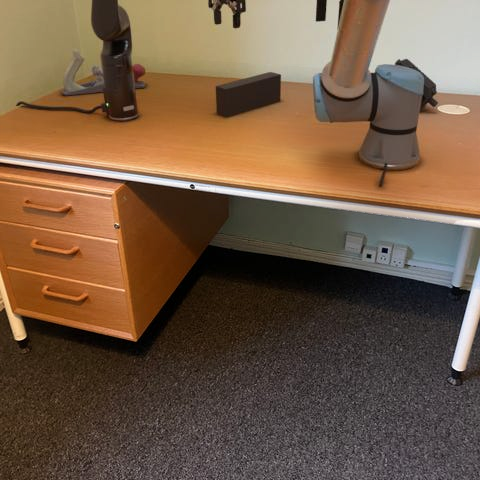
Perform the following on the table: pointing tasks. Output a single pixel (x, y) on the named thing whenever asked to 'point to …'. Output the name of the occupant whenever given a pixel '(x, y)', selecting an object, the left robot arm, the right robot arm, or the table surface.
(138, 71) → the hand plane
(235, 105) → the bar
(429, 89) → the tool
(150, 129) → the table surface
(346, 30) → the right robot arm
